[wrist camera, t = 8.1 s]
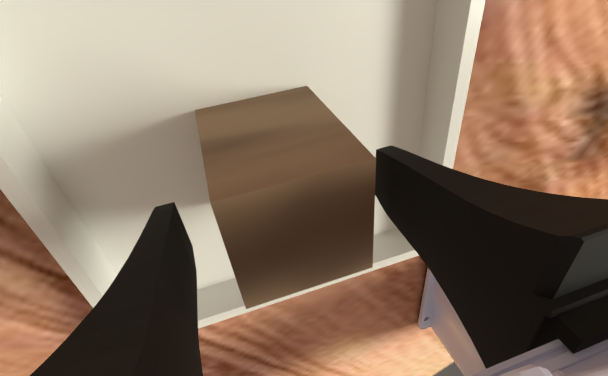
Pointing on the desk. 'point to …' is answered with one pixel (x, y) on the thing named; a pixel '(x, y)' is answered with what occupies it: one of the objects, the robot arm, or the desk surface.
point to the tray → (201, 94)
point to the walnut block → (287, 192)
